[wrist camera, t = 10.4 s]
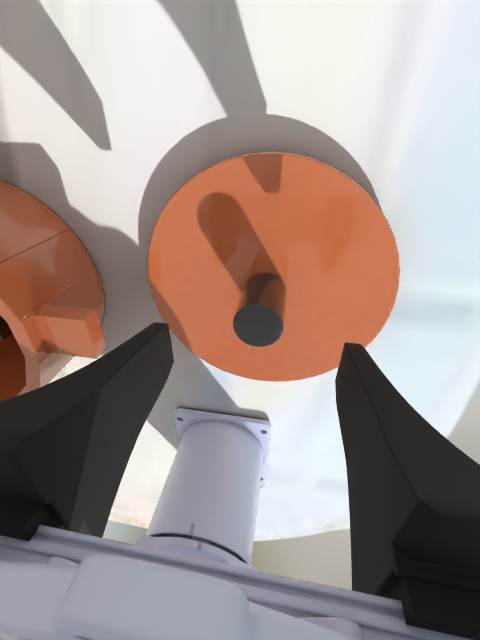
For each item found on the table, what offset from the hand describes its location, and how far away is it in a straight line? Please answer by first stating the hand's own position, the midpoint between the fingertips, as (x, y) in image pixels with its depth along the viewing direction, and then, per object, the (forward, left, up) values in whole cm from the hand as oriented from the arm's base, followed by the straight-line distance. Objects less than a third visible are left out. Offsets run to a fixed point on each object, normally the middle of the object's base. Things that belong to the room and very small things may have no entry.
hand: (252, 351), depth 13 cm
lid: (0, 0, -6) cm, 6 cm away
